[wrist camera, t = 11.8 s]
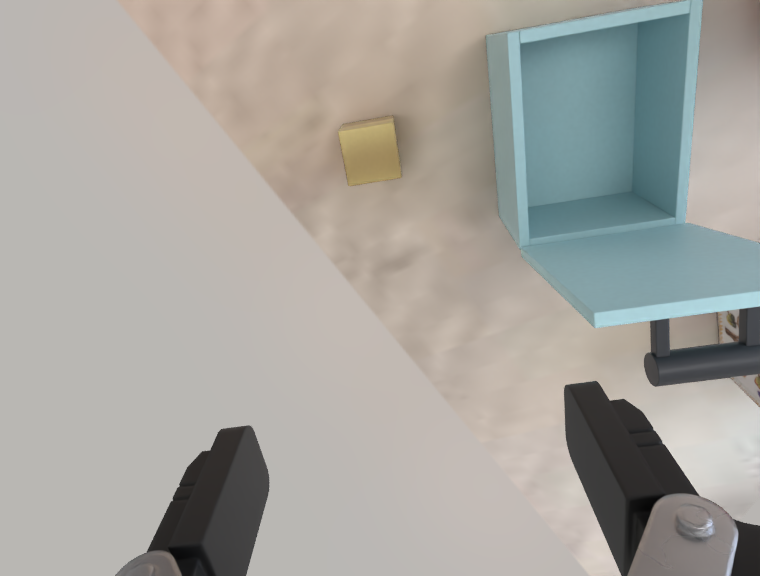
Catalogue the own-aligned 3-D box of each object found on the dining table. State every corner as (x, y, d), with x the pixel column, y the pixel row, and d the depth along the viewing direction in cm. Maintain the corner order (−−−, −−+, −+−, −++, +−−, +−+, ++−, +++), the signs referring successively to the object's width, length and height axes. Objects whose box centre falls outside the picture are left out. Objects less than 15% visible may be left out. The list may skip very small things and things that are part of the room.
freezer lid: (593, 313, 25) (599, 413, 26) (875, 275, 24) (866, 382, 25) (520, 247, 41) (526, 312, 42) (688, 222, 40) (689, 290, 41)
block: (342, 124, 46) (337, 131, 42) (393, 115, 46) (393, 122, 42) (352, 174, 48) (348, 186, 44) (400, 166, 47) (401, 178, 43)
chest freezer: (485, 35, 43) (507, 33, 35) (644, 6, 42) (704, -3, 34) (499, 216, 49) (519, 250, 41) (636, 195, 48) (685, 225, 40)
